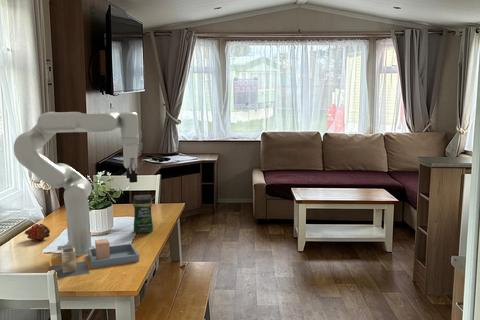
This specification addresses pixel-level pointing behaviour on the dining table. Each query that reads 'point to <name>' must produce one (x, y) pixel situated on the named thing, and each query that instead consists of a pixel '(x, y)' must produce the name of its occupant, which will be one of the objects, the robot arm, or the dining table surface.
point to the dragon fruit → (38, 232)
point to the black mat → (80, 267)
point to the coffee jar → (142, 213)
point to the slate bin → (115, 255)
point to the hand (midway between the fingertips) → (131, 180)
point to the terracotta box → (102, 249)
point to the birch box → (68, 260)
